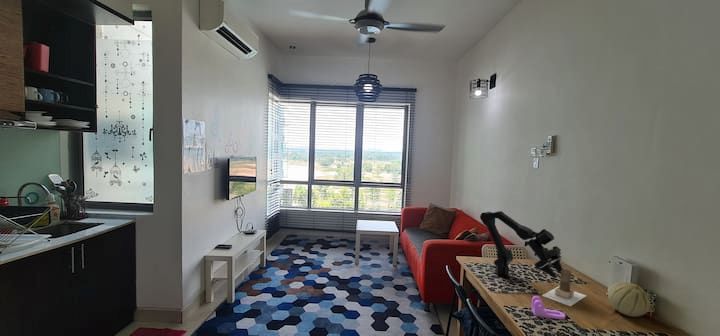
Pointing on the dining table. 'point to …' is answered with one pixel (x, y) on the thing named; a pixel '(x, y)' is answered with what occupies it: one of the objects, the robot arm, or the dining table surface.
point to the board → (568, 302)
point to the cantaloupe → (629, 299)
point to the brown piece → (565, 285)
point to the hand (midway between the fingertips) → (559, 275)
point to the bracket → (540, 311)
